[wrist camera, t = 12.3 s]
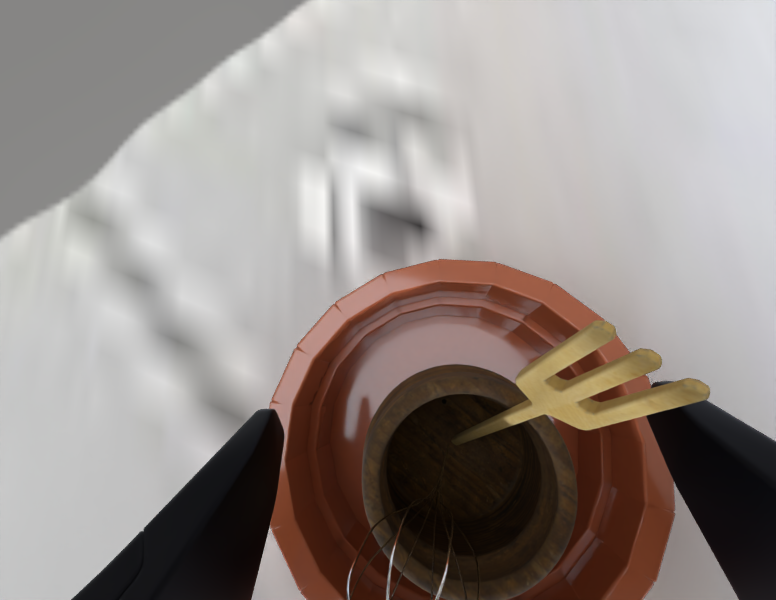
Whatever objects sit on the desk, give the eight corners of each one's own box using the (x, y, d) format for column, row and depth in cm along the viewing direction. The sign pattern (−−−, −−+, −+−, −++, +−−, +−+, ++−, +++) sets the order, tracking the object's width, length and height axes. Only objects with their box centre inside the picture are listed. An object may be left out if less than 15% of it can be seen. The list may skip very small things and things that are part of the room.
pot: (402, 659, 15) (388, 787, 10) (263, 383, 18) (202, 382, 13) (667, 492, 16) (774, 540, 11) (490, 245, 18) (510, 194, 14)
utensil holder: (349, 459, 16) (151, 633, 5) (439, 334, 17) (454, 223, 6) (471, 560, 15) (599, 1123, 4) (562, 422, 16) (919, 517, 4)
